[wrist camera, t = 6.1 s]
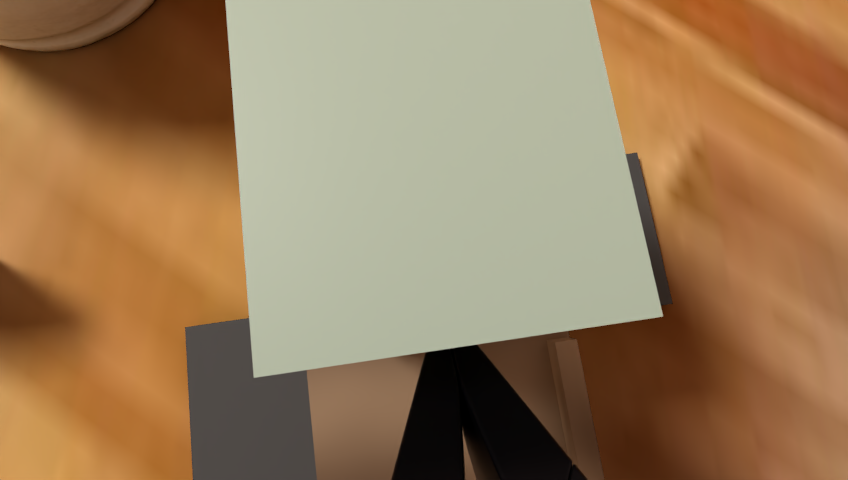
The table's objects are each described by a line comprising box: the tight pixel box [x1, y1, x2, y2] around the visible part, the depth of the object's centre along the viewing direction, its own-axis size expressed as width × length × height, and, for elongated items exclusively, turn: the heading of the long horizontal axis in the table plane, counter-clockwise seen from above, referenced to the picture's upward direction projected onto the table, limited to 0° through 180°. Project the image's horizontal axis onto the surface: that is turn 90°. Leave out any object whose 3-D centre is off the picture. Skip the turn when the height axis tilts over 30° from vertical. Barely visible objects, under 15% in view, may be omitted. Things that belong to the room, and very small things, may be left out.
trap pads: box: [185, 153, 673, 480], centre depth 18 cm, size 12×21×1 cm, turn 98°
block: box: [225, 0, 663, 378], centre depth 12 cm, size 7×6×10 cm
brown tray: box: [307, 331, 605, 480], centre depth 16 cm, size 19×10×4 cm, turn 8°
